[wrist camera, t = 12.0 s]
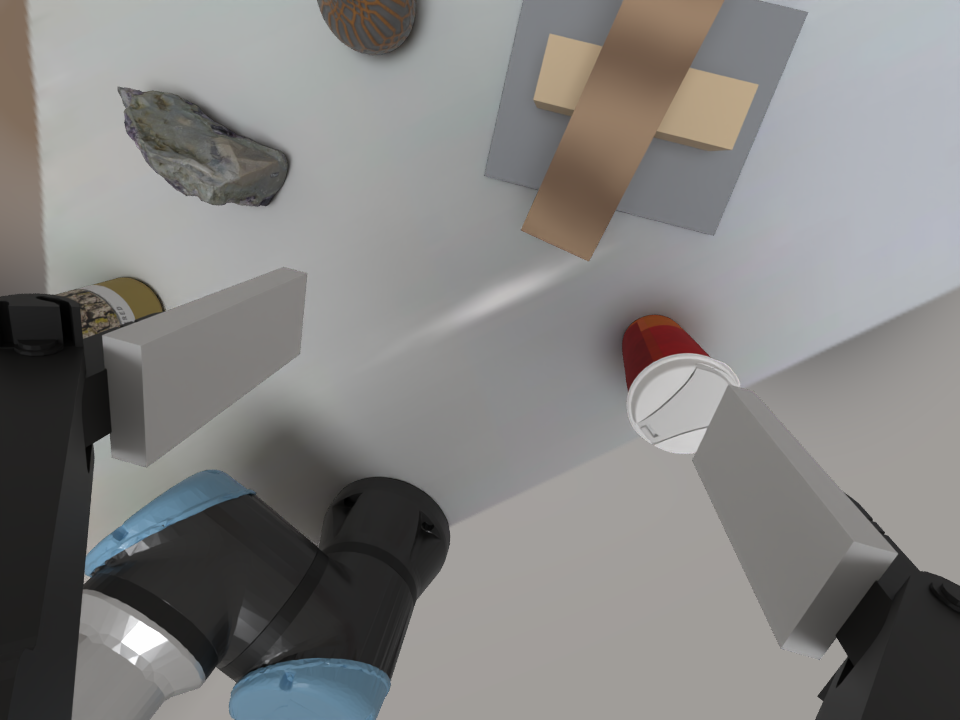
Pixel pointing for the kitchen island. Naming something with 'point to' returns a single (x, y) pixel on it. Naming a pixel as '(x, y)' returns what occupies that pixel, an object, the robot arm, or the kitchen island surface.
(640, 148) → the walnut bar
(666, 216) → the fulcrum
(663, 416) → the paper cup
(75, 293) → the paper tube
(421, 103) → the kitchen island surface
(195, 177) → the mineral rock
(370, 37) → the vase
